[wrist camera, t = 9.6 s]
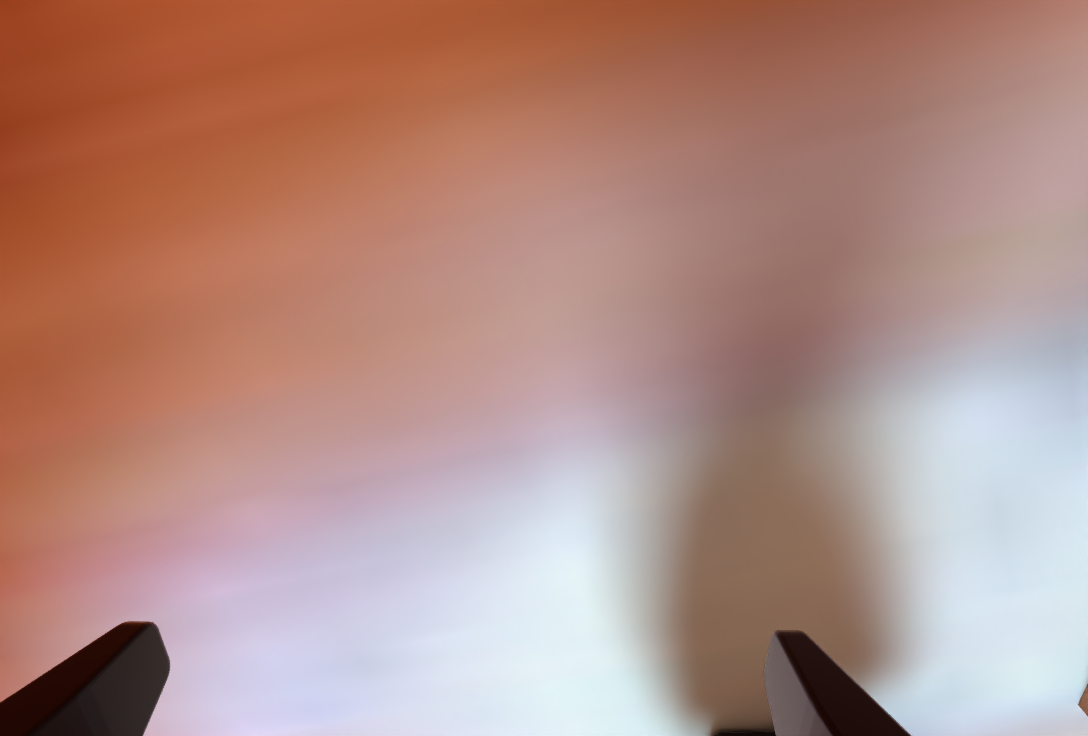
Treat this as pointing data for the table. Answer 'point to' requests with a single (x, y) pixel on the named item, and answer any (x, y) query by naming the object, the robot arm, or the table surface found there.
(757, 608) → the table surface
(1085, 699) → the rail
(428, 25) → the table surface
